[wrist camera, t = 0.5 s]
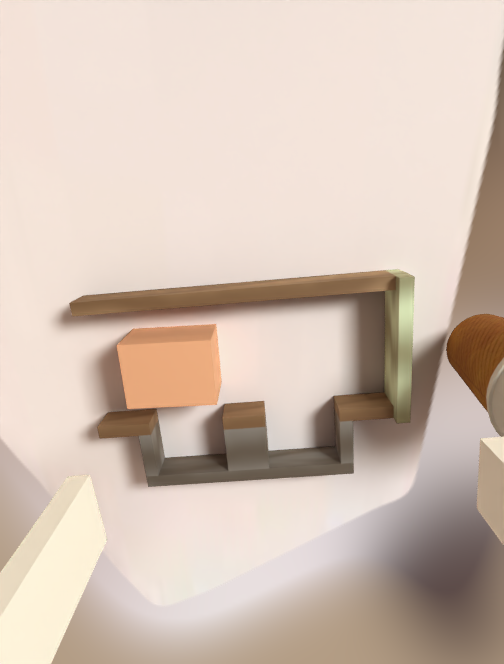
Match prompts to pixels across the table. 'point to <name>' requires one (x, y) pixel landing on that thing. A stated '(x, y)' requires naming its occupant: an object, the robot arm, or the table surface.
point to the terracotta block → (170, 366)
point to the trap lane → (249, 417)
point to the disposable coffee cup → (481, 362)
